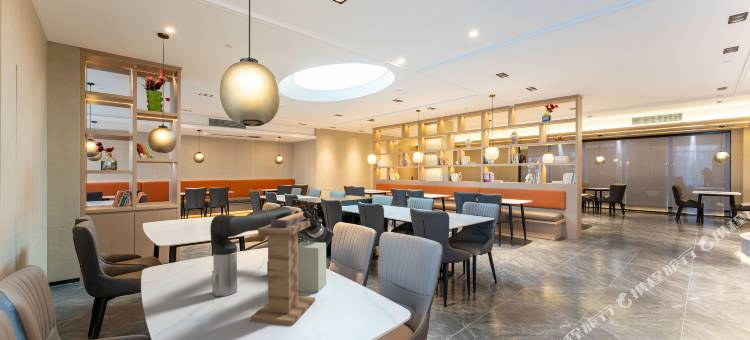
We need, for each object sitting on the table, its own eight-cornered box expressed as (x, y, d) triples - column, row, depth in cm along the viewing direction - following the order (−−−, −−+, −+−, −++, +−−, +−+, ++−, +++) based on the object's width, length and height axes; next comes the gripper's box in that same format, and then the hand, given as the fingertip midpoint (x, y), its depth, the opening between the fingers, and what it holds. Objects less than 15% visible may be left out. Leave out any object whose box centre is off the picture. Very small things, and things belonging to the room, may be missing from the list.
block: (284, 226, 116) (284, 219, 116) (276, 226, 117) (276, 219, 117) (308, 217, 138) (308, 211, 138) (301, 217, 139) (301, 211, 139)
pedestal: (318, 292, 137) (318, 248, 137) (292, 290, 140) (292, 246, 139) (326, 284, 147) (326, 242, 147) (301, 282, 149) (301, 241, 149)
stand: (293, 325, 108) (292, 223, 108) (250, 321, 111) (249, 222, 111) (315, 301, 128) (314, 215, 128) (278, 298, 131) (277, 214, 131)
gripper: (326, 235, 145) (314, 221, 130) (297, 234, 147) (282, 220, 133) (329, 219, 149) (317, 204, 134) (301, 218, 151) (286, 204, 136)
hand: (300, 212), depth 133 cm, fingers closed on block, 3 cm apart
